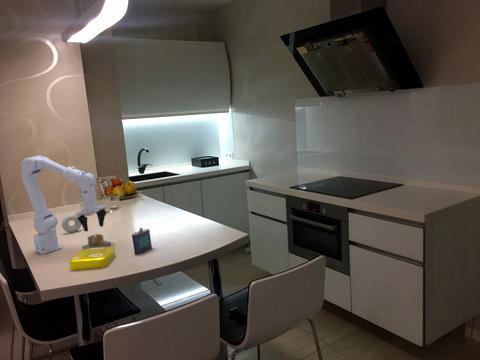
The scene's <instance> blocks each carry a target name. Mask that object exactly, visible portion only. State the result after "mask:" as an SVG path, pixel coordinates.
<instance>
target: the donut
mask: <svg viewBox="0 0 480 360" xmlns="http://www.w3.org/2000/svg"><path fill="white" fill-rule="evenodd" d="M71 221H73V222H74V225H70V224H69V223H70V222H71ZM81 227H82V224H81V223H80V221H79V220H78V219H77V217H75V213H70V214H66V215H65V216H64V217H63V219H62V220H61V228H62V229H63V230H64V231H65V232H67V233H75V232H78V230H80V228H81Z"/></svg>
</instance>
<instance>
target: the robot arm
mask: <svg viewBox="0 0 480 360" xmlns="http://www.w3.org/2000/svg"><path fill="white" fill-rule="evenodd" d="M19 166H20V169H21V179H22V182H23V185H24V188H25V190H26V192H27V195H28V198H29V200H30V203H31V206H32V208H33V211H34V217H33V218H32V219H33V228H34V230H35V232H37V233H36V234H34V235H33V242H34V249H35V250H34V252H36V253H38V254H41V255H44V254H48V253H51V252H53V251H58V250H60V249H63V246H60V245H59V242H58V235H57V230H56V228H57V225H58V218H57V217H56V216H55V215H54V213H53V211H52V210H50V209H48V206H47V203H46V201H45V198H44V195H43V193H42V189H41V187H40V184H39V182H38V179H37V177H38V175H39V173H41V171H42V170H45V169H47V170H50V171H51V172H55V173H59V174H61V175H62V176H63V178H64V179H67V180H69V181H71V182H73V183H76V184H77V186H79V188H80V190H81V196H82V204H83V210H80V211H77V212H75V213H74V214H75V217H77V219H78V220H79V221H80V223H81V227H82V228H83V231H84V232H89V227H88V216H87V215H90V214H94V213H96V216H97V219H98V225H99V227H101V228H102V227H104V222H105V217H106V215H107V210H108V209H107V205H100V206H98V202H97V201H98V200H97V196H96V195H97V194H96V189H95V183H96V181H97V180H96V176H95V175H94V174H93V173H91V172H89V171H87V172H86V171H85V170H80V169H78V168H76V166H74V165H71V166H68V167H66V166H64V165H62V164H60V163H57V162H56V161H54V160H51V159H50V158H48V157H47V156H43V155H41V154H39V155H36V156H35V155H34V156H32V157H30V156H29V157H26V158H23V160H22V161H21V163H20V165H19Z"/></svg>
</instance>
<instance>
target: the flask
mask: <svg viewBox="0 0 480 360" xmlns="http://www.w3.org/2000/svg"><path fill="white" fill-rule="evenodd" d="M131 237H132V239H131V240H132V243H133V244H132V245H133V251H134V255H135V256H136V255H138V256H139V255H140V254H144V253H146V252H148V251H150V250H152V248H153V245H152V239H151V230H150V229H149V228H145V229H144V228H143V227H139V229H138V231H135V232H134V233H132V235H131Z"/></svg>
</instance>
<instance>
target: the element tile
mask: <svg viewBox="0 0 480 360" xmlns="http://www.w3.org/2000/svg"><path fill="white" fill-rule="evenodd" d="M114 258H116V249H115V246H112V245H111V246H108V247H100V248H99V247H98V248H88V249H82V248H81V249H80V250H78V251H77V252H76V254H75V255H74V256H73V257H72V258H70V260H68V262H69V268H70V271H73V272H74V271H75V272H76V271H86V270H97V269H105V268H107V267H108V266H109V265H110V264H111V262H113V260H114Z"/></svg>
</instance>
